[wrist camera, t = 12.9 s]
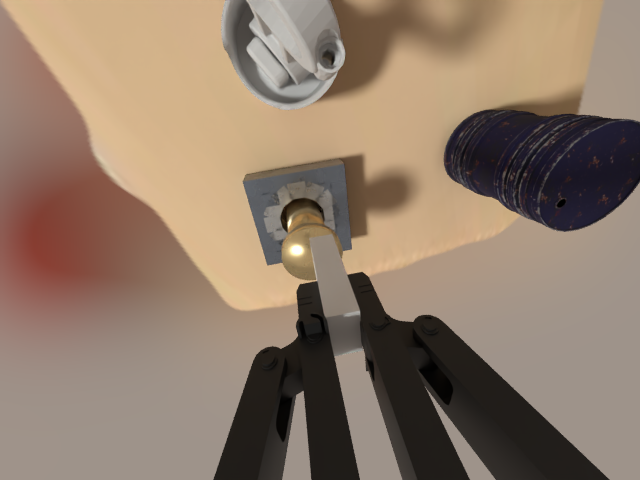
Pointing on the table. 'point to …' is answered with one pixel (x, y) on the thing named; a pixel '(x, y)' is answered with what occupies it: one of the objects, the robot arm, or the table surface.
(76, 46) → the table surface
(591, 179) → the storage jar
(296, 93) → the engine component
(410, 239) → the table surface
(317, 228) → the brass flared knob
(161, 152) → the table surface
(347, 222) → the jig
